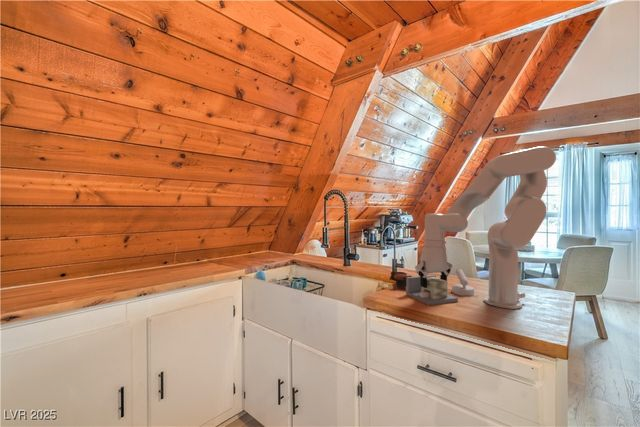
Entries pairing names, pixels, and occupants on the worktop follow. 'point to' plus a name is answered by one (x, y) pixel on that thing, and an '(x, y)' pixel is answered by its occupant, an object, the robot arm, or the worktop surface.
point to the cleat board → (432, 301)
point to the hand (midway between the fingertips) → (433, 286)
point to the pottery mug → (399, 280)
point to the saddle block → (436, 287)
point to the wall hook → (462, 288)
